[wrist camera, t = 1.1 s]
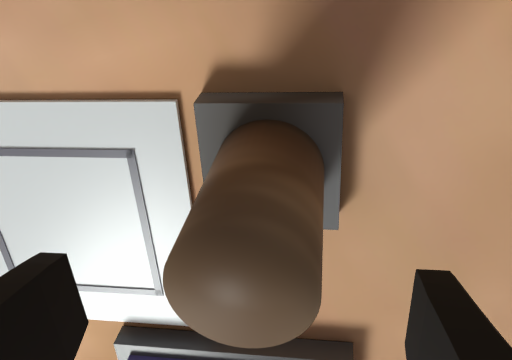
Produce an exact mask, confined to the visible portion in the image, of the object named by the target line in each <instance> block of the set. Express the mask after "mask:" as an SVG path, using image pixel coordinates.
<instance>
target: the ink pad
mask: <svg viewBox="0 0 512 360" xmlns="http://www.w3.org/2000/svg"><path fill="white" fill-rule="evenodd" d="M114 347H115V351H116V354H117V358H118V360H353V343H351V342H337V341H323V340H309V339H295V338H294V339H292V340H291V341H288V342H286V343H283V344H280V345H276V346H272V347H266V348H240V347H234V346H229V345H225V344H222V343H219V342H216V341H213V340H211V339H209V338H207V337H205V336H203V335H201V334H199V333H198V332H196V331H184V330H170V329H156V328H142V327H128V326H122V328H121V330H120V332H119V334H118V336H117V338H116V340H115V342H114Z"/></svg>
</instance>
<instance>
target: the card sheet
mask: <svg viewBox="0 0 512 360" xmlns="http://www.w3.org/2000/svg"><path fill="white" fill-rule="evenodd" d="M191 208H192V199H191V192H190V185H189V178H188V171H187V164H186V157H185V150H184V143H183V136H182V129H181V122H180V115H179V108H178V101H177V99H162V100H0V276H2V275H4V274H5V273H7V272H8V271H10V270H11V269H13V268H14V267H16V266H18V265H19V264H21V263H23V262H24V261H26V260H28V259H29V258H31V257H33V256H35V255H36V254H38V253H40V252H46V253H66V254H67V257H68V260H69V263H70V266H71V269H72V272H73V275H74V279H75V282H76V285H77V288H78V291H79V294H80V297H81V300H82V303H83V306H84V310H85V313H86V316H87V319H92V320H106V321H120V322H135V323H149V324H163V325H177V326H188V325H187V324H185V323H184V322H183V321H182V320H181V319H180V318H179V317H178V315H177V314H176V313H175V312H174V310H173V309H172V307H171V306H170V304H169V302H168V300H167V298H166V295H165V292H164V288H163V270H164V266H165V263H166V261H167V258H168V256H169V254H170V252H171V250H172V248H173V246H174V244H175V241H176V239H177V237H178V235H179V233H180V231H181V229H182V227H183V225H184V223H185V220H186V218H187V216H188V214H189V212H190V210H191Z"/></svg>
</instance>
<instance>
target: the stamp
mask: <svg viewBox="0 0 512 360" xmlns="http://www.w3.org/2000/svg"><path fill="white" fill-rule="evenodd" d="M343 108H344V100H343V92H248V93H201V94H200V95H199V97H198V98H197V99H196V101H195V102H194V111H195V119H196V127H197V135H198V143H199V151H200V159H201V167H202V175H203V185H202V187H201V189H200V191H199V193H198V195H197V197H196V199H195V202H194V204H193V206H192V208H191V210H190V212H189V214H188V216H187V218H186V220H185V223H184V225H183V227H182V229H181V231H180V233H179V235H178V237H177V239H176V241H175V244H174V246H173V248H172V250H171V252H170V254H169V256H168V258H167V261H166V263H165V266H164V270H163V288H164V292H165V295H166V298H167V300H168V302H169V304H170V306H171V307H172V309H173V310H174V312H175V313H176V314H177V315H178V317H179V318H180V319H181V320H182V321H183V322H184V323H185V324H187V325H188V326H189V327H190V328H192V329H193V330H195V331H196V332H198V333H199V334H201V335H203V336H205V337H207V338H209V339H211V340H213V341H216V342H219V343H222V344H225V345H229V346H234V347H240V348H266V347H272V346H276V345H280V344H283V343H286V342H288V341H291V340H292V339H294V338H296V337H298V336H299V335H301V334H302V333H303V332H305V331H306V330H307V329H308V328H309V327H310V325H311V324H312V323H313V321H314V320H315V318H316V316H317V314H318V312H319V309H320V305H321V292H322V250H323V229H328V230H338V228H339V204H340V180H341V156H342V132H343Z"/></svg>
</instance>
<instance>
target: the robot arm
mask: <svg viewBox="0 0 512 360" xmlns="http://www.w3.org/2000/svg"><path fill="white" fill-rule="evenodd" d="M88 323H89V322H88V319H87V316H86V313H85V310H84V306H83V303H82V300H81V297H80V294H79V291H78V288H77V285H76V282H75V279H74V275H73V272H72V269H71V266H70V263H69V260H68V257H67V254H66V253H46V252H40V253H38V254H36V255H35V256H33V257H31V258H29V259H28V260H26V261H24V262H23V263H21V264H19V265H18V266H16V267H14V268H13V269H11V270H10V271H8V272H7V273H5V274H4V275H2V276H0V360H74V358H75V356H76V354H77V351H78V349H79V346H80V344H81V341H82V339H83V336H84V333H85V331H86V328H87V325H88ZM405 350H406V359H407V360H512V347H511V346H510V345H509V344H508V343H507V342H506V340H505V339H504V338H503V337H502V336H501V334H500V333H499V332H498V331H497V330H496V328H495V327H494V326H493V325H492V323H491V322H490V321H489V320H488V318H487V317H486V316H485V315H484V313H483V312H482V311H481V310H480V308H479V307H478V306H477V305H476V303H475V302H474V301H473V299H472V298H471V297H470V296H469V294H468V293H467V292H466V290H465V289H464V288H463V286H462V285H461V284H460V283H459V281H458V280H457V279H456V277H455V276H454V275H453V274H452V273H451V272H450V271H443V270H421V269H416V273H415V279H414V286H413V293H412V299H411V306H410V313H409V319H408V326H407V333H406V339H405Z"/></svg>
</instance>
